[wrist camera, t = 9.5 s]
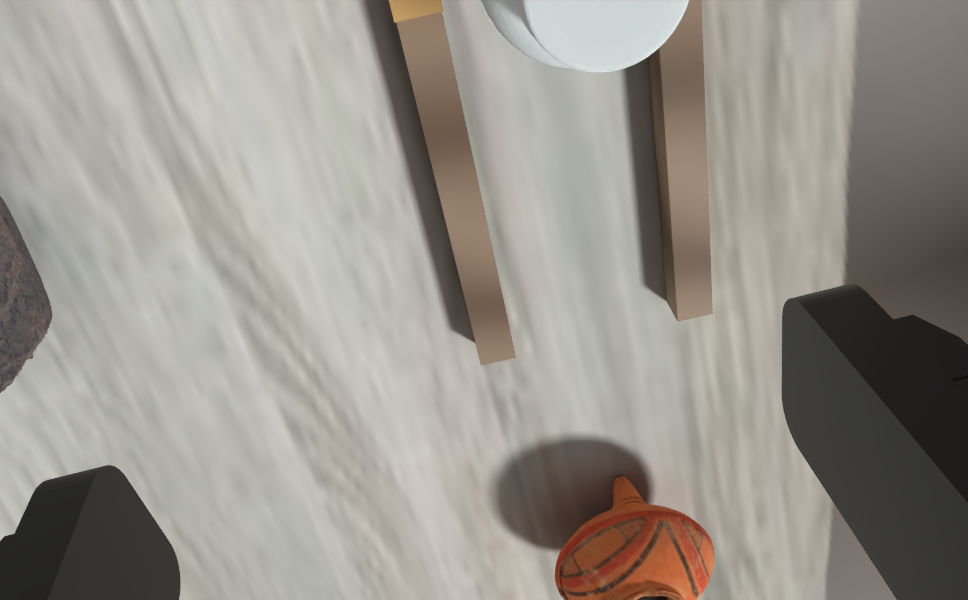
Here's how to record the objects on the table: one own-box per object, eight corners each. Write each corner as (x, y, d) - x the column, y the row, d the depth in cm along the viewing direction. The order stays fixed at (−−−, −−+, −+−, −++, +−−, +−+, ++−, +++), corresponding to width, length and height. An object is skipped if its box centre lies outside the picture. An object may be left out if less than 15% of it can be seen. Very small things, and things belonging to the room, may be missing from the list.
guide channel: (327, -257, 23) (322, -261, 21) (673, -338, 23) (703, -350, 21) (476, 344, 35) (482, 380, 33) (701, 294, 35) (722, 326, 33)
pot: (726, 472, 41) (765, 602, 36) (646, 541, 46) (672, 663, 41) (588, 445, 38) (612, 581, 34) (521, 521, 43) (533, 649, 39)
